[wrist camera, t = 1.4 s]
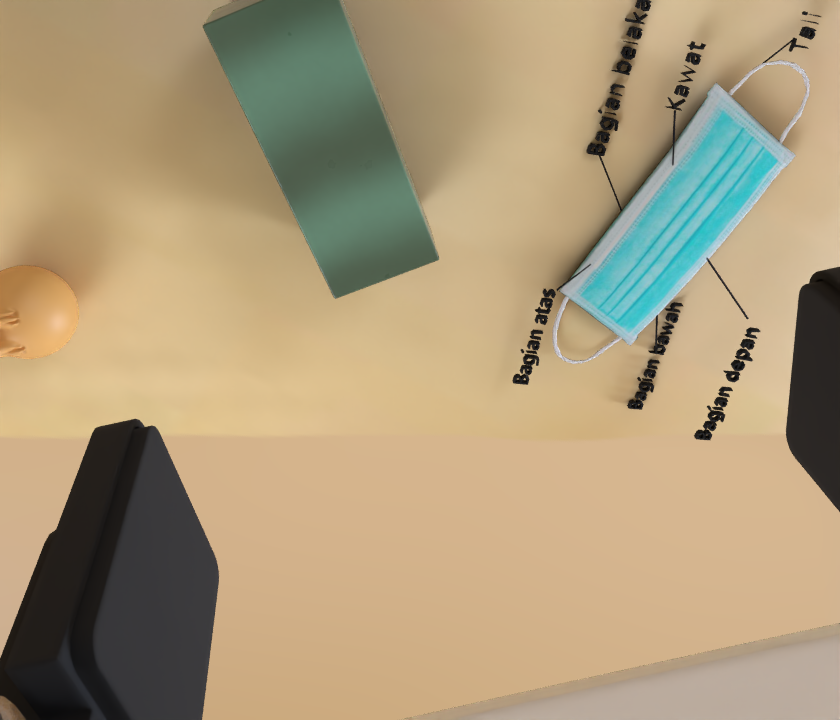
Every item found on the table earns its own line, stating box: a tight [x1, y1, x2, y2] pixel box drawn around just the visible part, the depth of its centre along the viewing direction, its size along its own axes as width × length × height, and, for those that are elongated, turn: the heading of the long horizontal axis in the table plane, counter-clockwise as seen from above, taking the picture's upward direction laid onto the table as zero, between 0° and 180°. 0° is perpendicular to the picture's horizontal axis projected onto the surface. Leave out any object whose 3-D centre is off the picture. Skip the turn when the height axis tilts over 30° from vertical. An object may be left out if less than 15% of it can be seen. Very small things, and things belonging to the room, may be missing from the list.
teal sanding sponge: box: [203, 0, 439, 299], centre depth 31 cm, size 11×4×5 cm, turn 20°
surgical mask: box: [512, 0, 820, 440], centre depth 35 cm, size 21×4×10 cm
